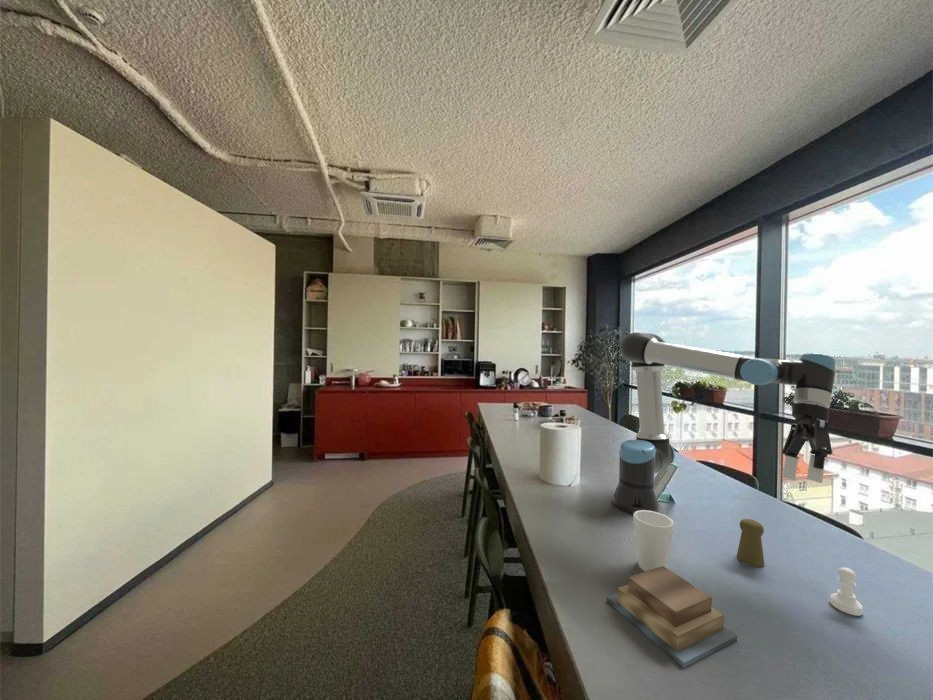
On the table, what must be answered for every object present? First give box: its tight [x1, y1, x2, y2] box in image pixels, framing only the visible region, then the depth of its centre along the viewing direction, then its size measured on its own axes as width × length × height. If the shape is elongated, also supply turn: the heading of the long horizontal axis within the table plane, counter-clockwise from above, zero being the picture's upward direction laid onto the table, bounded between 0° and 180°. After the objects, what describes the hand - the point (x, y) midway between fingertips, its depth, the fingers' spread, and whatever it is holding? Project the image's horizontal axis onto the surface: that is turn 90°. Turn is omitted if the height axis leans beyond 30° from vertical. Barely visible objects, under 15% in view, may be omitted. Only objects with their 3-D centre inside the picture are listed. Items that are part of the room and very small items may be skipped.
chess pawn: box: [829, 566, 864, 617], centre depth 80 cm, size 5×5×9 cm
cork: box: [736, 518, 765, 568], centre depth 97 cm, size 6×6×11 cm
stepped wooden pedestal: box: [606, 566, 738, 669], centre depth 75 cm, size 18×16×7 cm
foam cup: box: [632, 510, 675, 572], centre depth 93 cm, size 10×9×13 cm
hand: (800, 480), depth 97 cm, fingers open, 13 cm apart
